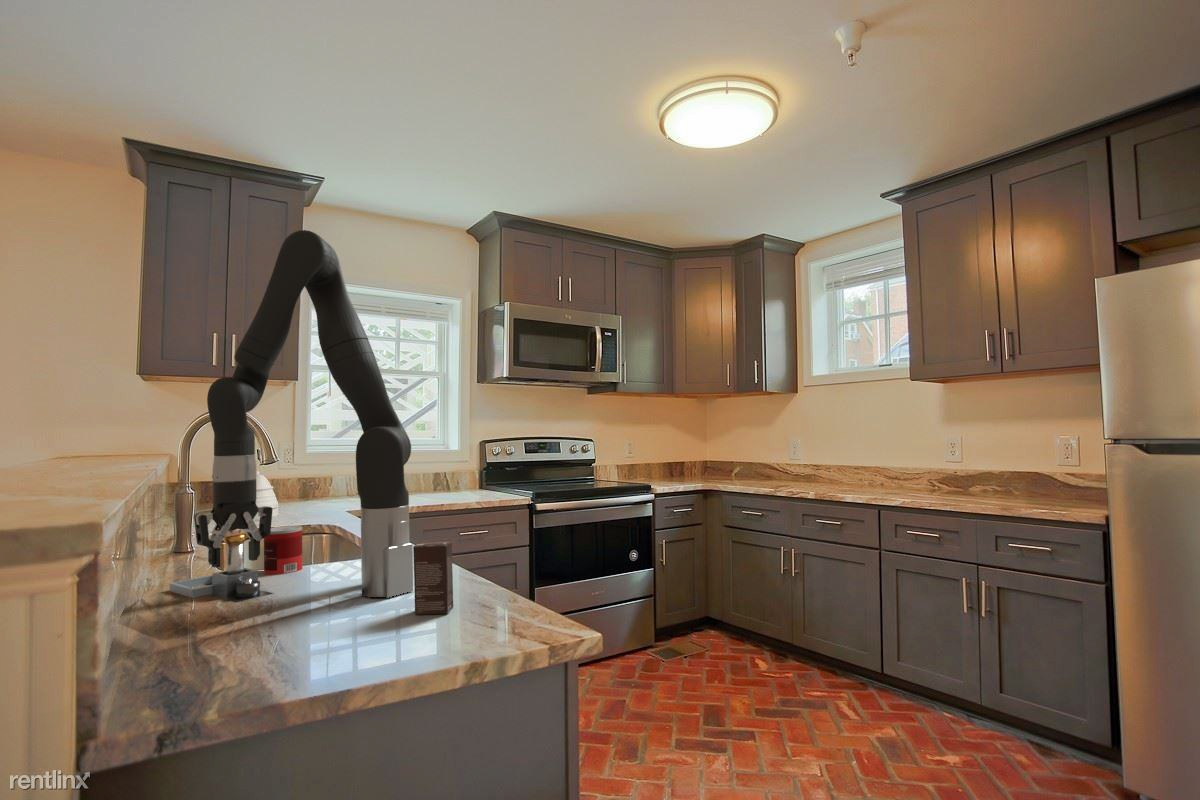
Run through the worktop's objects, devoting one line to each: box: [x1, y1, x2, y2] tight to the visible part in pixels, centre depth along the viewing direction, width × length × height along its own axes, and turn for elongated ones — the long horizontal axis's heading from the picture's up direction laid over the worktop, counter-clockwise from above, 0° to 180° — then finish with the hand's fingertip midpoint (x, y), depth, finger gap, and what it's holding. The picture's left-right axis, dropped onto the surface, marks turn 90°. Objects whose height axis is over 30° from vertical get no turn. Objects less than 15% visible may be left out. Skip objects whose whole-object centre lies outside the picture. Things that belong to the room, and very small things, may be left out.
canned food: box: [263, 525, 303, 576], centre depth 142 cm, size 8×8×11 cm
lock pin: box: [223, 533, 247, 575], centre depth 123 cm, size 4×4×11 cm
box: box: [413, 541, 454, 616], centre depth 112 cm, size 6×4×12 cm
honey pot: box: [254, 470, 280, 518], centre depth 247 cm, size 13×13×18 cm
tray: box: [169, 574, 213, 599], centre depth 126 cm, size 10×8×3 cm
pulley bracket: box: [208, 567, 274, 603], centre depth 122 cm, size 11×7×6 cm, turn 55°
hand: (235, 563), depth 123 cm, fingers open, 6 cm apart
